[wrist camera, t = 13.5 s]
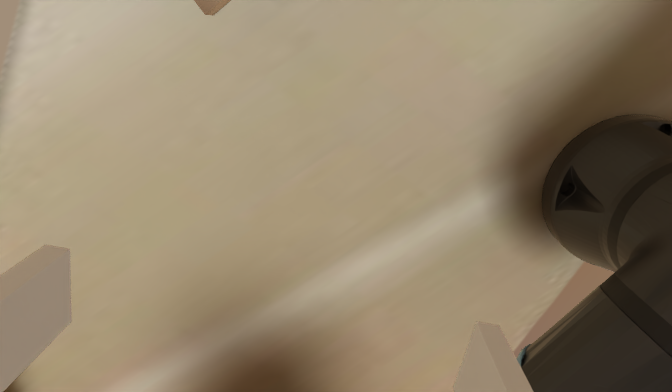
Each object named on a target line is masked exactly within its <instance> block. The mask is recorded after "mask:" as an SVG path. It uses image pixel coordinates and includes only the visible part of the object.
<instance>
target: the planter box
mask: <svg viewBox="0 0 672 392" xmlns="http://www.w3.org/2000/svg"><path fill="white" fill-rule="evenodd" d="M194 1H195V2H196V3H197V5H198V6H199V7H200V9H201V10H202V11H203V12H204V14H205V15H214V14H215V13H217V12H218V11H219V10H220V9H221V8H222V7H224V6H225V5H226V4H227V3H228V2H230V1H231V0H194Z"/></svg>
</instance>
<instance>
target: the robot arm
mask: <svg viewBox="0 0 672 392" xmlns="http://www.w3.org/2000/svg"><path fill="white" fill-rule="evenodd" d="M542 209H543V215H544V219H545V222H546V224H547V226H548V228H549V230H550V232H551V233H552V235H553V236H554V237H555V238H556V239H557V240H558V241H559V242H560V243H561V244H562V245H563V246H564V247H565V248H566V249H567V250H568V251H569V252H570V253H572V254H573V255H575V256H576V257H578V258H580V259H581V260H583V261H585V262H588V263H590V264H593V265H597V266H600V267H602V268H605V269H608V270H611V271H614V272H615V273H614V274H613V275H612V276H610V277H609V278H608V279H607V280H606V281H605V282H604V283H602V284H601V285H600V286H598V287H597V288H596V289H595V290H594V291H592V292H591V293H590V294H589V295H588V296H587V297H586V298H585V299H583V300H582V301H581V302H580V303H579V304H578V305H577V306H575V307H574V308H573V309H572V310H571V311H570V312H569V313H567V314H566V315H565V316H564V317H563V318H562V319H561V320H559V321H558V322H557V323H556V324H555V325H554V326H553V327H552V328H550V329H549V330H548V331H547V332H546V333H544V334H543V335H542V336H541V337H540V338H538V340H536V341H535V342H534V343H532V344H529V345H527V346H526V347H525V348H524V349H522V350H521V352H520V354H519V356H518V357H517V358H516V357H515V355H514V353H513V351H512V349H511V347H510V345H509V343H508V341H507V339H506V337H505V335H504V334H503V332H502V330H501V328H500V326H499V325H494V324H489V323H483V322H477V321H476V324H475V327H474V330H473V332H472V335H471V338H470V341H469V344H468V347H467V349H466V352H465V355H464V358H463V361H462V364H461V366H460V369H459V372H458V375H457V378H456V381H455V383H454V386H453V389H454V392H672V121H669V120H665V119H662V118H658V117H654V116H649V115H626V116H620V117H615V118H612V119H609V120H606V121H603V122H601V123H598V124H596V125H594V126H592V127H591V128H589V129H587V130H586V131H584V132H583V133H581V134H580V135H578V136H577V137H576V138H575V139H574V140H572V141H571V142H570V143H569V144H568V145H567V146H566V147H565V148H564V149H563V151H562V152H561V153H560V154H559V156H558V157H557V158H556V160H555V161H554V163H553V165H552V166H551V168H550V170H549V173H548V175H547V178H546V180H545V184H544V188H543V194H542ZM71 322H72V319H71V274H70V249H68V248H62V247H56V246H51V245H44V246H43V247H41V248H40V249H38V250H37V251H35V252H34V253H32V254H31V255H29V256H28V257H26V258H25V259H24V260H22V261H21V262H19V263H18V264H16V265H15V266H13V267H12V268H10V269H9V270H8V271H6V272H5V273H3V274H2V275H0V392H3V391H4V390H5V389H6V388H7V387H8V386H9V385H10V384H11V383H12V382H13V381H14V380H15V379H16V378H17V377H18V376H19V375H20V374H21V373H22V372H23V371H24V370H25V369H26V368H27V367H28V366H29V365H30V364H31V363H32V362H33V361H34V360H35V359H36V358H37V357H38V355H39V354H40V353H41V352H42V351H43V350H44V349H45V348H46V347H47V346H48V345H49V344H50V343H51V342H52V341H53V340H54V339H55V338H56V337H57V336H58V335H59V334H60V333H61V332H62V331H63V330H64V329H65V328H66V327H67V326H68V325H69V324H70V323H71Z"/></svg>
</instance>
